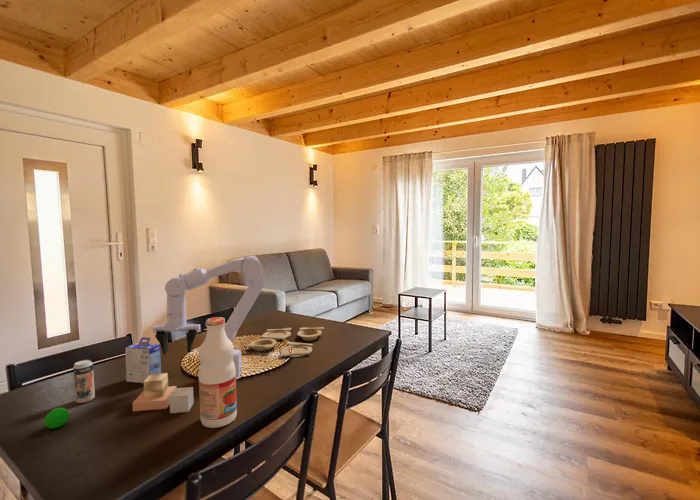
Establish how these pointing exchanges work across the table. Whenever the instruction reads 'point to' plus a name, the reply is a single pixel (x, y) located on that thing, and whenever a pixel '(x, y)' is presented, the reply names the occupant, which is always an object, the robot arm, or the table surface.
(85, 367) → the beer can
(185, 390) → the grey cube
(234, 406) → the fruit juice
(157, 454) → the table surface
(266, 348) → the tableware set
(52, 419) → the polyhedron
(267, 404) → the table surface
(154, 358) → the ink cartridge box
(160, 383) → the maple cube
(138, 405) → the terracotta block
